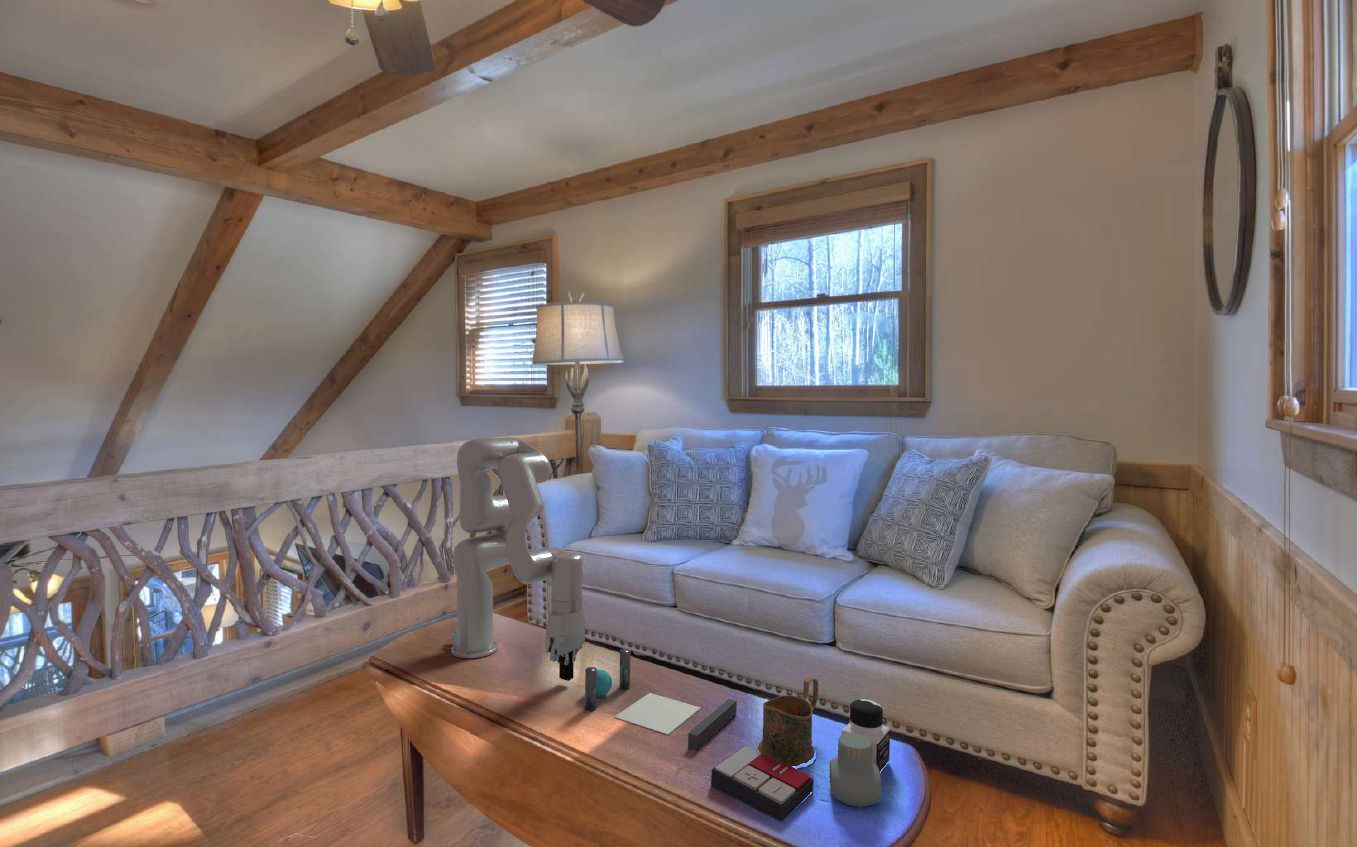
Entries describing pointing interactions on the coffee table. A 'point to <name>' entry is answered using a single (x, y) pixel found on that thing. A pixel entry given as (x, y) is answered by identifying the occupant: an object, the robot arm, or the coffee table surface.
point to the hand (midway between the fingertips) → (566, 678)
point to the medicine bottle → (870, 728)
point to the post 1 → (590, 689)
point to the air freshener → (855, 772)
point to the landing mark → (658, 713)
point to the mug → (789, 727)
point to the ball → (603, 683)
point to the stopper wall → (711, 724)
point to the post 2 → (625, 669)
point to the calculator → (762, 782)
